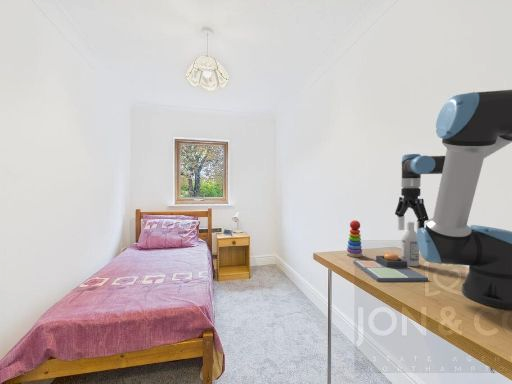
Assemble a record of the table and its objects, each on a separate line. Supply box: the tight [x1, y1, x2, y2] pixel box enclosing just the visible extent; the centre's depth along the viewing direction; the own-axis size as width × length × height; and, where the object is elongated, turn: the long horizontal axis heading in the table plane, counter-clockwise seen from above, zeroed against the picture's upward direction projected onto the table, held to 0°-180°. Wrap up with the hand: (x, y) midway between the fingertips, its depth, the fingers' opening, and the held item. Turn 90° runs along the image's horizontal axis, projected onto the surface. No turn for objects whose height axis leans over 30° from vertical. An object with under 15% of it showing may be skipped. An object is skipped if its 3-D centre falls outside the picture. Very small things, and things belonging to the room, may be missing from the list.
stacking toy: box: [346, 219, 363, 258], centre depth 127 cm, size 8×8×19 cm
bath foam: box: [400, 221, 420, 267], centre depth 113 cm, size 7×7×20 cm
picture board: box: [352, 255, 429, 282], centre depth 104 cm, size 22×20×4 cm
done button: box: [383, 252, 399, 261], centre depth 109 cm, size 6×6×2 cm
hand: (410, 232), depth 113 cm, fingers open, 13 cm apart
